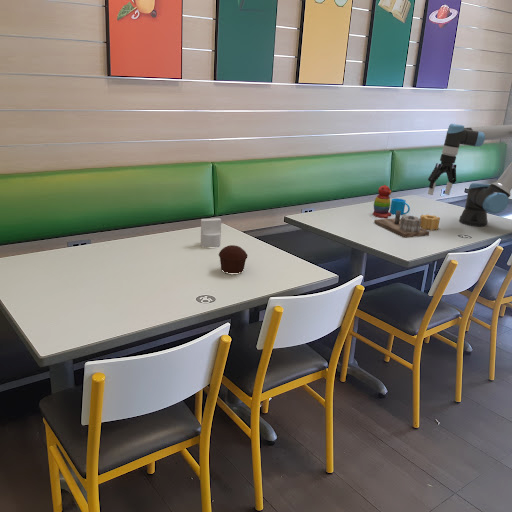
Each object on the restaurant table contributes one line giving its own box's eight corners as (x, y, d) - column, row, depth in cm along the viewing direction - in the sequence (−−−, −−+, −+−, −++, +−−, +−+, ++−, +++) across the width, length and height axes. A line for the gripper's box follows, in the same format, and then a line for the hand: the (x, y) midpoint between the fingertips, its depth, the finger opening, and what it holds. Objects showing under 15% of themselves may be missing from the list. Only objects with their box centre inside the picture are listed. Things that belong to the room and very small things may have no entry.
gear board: (397, 221, 287) (400, 206, 284) (428, 235, 264) (431, 218, 261) (374, 223, 281) (376, 207, 278) (403, 237, 258) (406, 220, 255)
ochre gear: (429, 224, 285) (431, 214, 282) (441, 229, 276) (443, 219, 274) (415, 225, 281) (416, 215, 279) (427, 230, 272) (429, 220, 270)
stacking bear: (386, 219, 290) (391, 188, 284) (369, 215, 295) (373, 185, 289) (392, 215, 299) (396, 185, 293) (375, 212, 304) (379, 182, 298)
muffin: (252, 271, 204) (254, 247, 200) (233, 278, 196) (234, 253, 192) (231, 263, 211) (232, 240, 208) (212, 269, 203) (212, 245, 200)
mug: (387, 212, 304) (389, 199, 301) (394, 210, 310) (396, 197, 307) (405, 217, 297) (407, 203, 294) (411, 215, 302) (414, 201, 299)
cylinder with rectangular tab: (217, 241, 237) (217, 216, 233) (223, 247, 229) (223, 221, 225) (198, 242, 234) (198, 217, 230) (203, 248, 226) (204, 222, 222)
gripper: (458, 154, 273) (447, 192, 280) (427, 152, 260) (417, 192, 267) (469, 157, 267) (459, 196, 274) (439, 155, 254) (428, 196, 261)
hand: (438, 194), depth 270 cm, fingers open, 13 cm apart
